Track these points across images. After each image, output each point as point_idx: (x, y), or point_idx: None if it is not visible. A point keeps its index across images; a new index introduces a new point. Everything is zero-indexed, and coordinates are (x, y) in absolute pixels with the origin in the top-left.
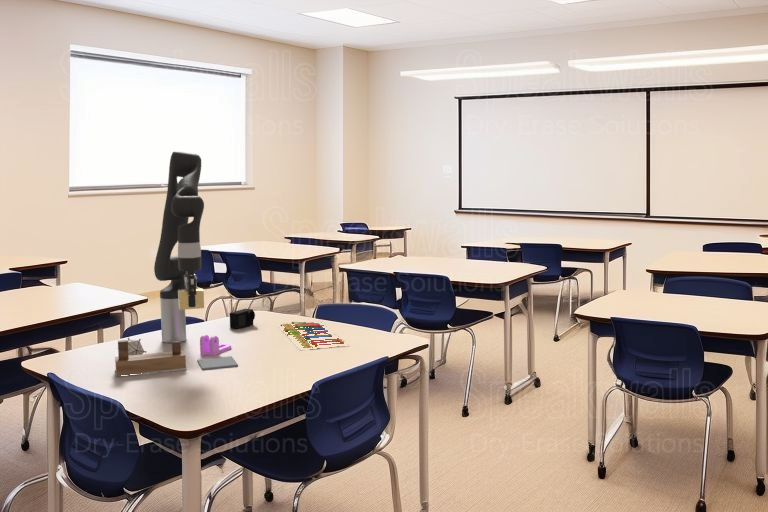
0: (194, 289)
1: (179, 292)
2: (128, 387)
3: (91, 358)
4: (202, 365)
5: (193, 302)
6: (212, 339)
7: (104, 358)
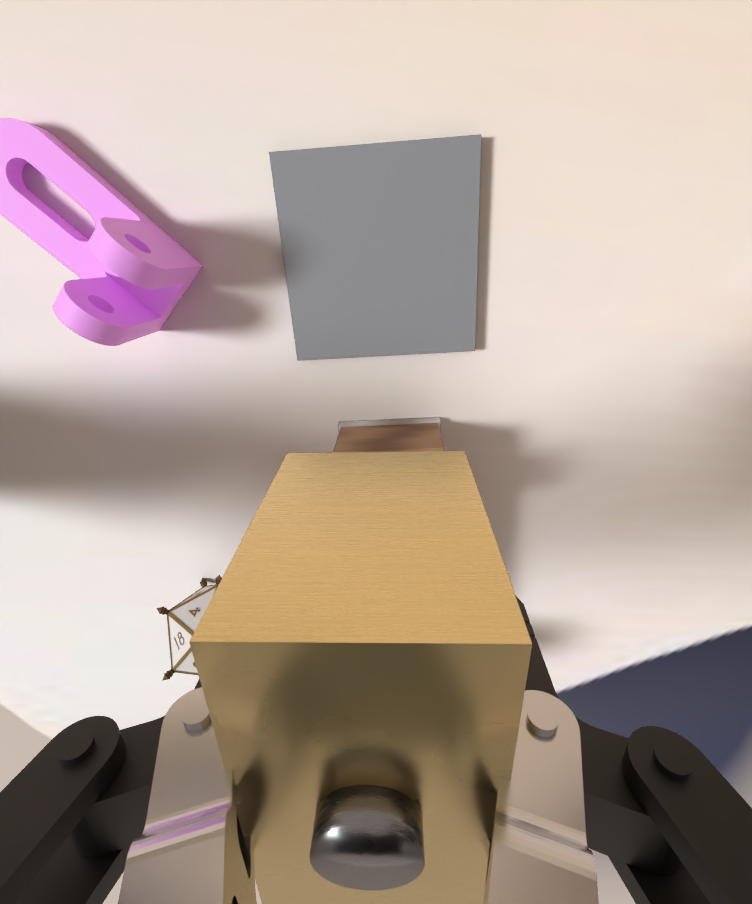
0: (716, 878)
1: None
2: (587, 614)
3: (166, 696)
4: (421, 345)
5: (529, 632)
6: (152, 268)
7: None
